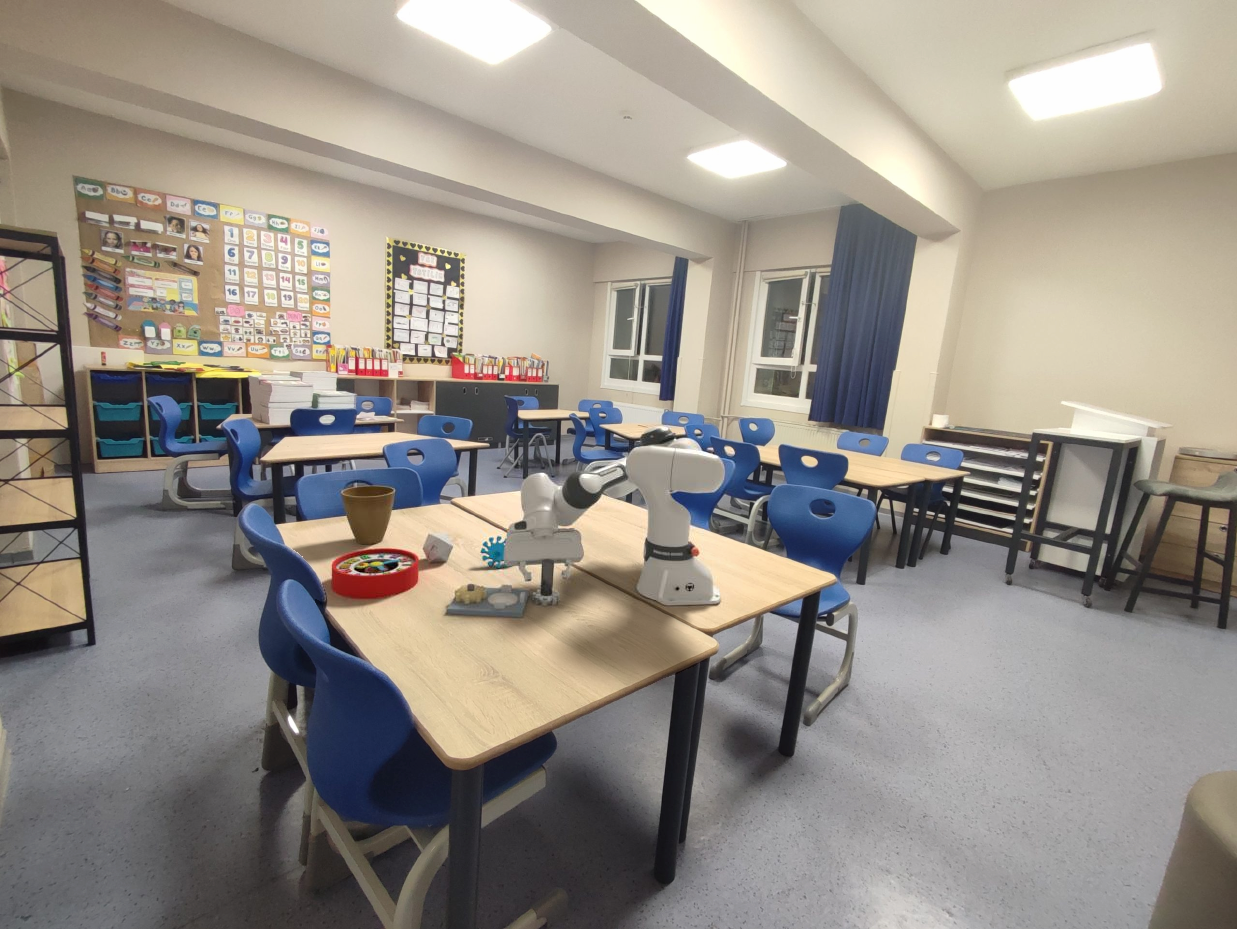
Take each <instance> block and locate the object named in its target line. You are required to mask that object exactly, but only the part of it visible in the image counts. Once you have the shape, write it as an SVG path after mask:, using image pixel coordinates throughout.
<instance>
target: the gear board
mask: <svg viewBox="0 0 1237 929" xmlns="http://www.w3.org/2000/svg"><path fill="white" fill-rule="evenodd" d="M530 592H531V591H530V589H523V588H513V585H512V584H501V587H487V586H486V587H485V586H484V585H478V584H475V583H468V584H466V585H465V584H463V585H460V586H459V588H455V590H454V597H453V599H452V600H451V603H449V604H448V607H447V610H446V613H447V614H450V615H464V616H465V615H466V616H483V617H502V618H504V617H505V618H519V619H521V618H523V616H524V611H525V608H526V605H527V603H528V600H529V596H530Z"/></svg>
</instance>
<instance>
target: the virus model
mask: <svg viewBox="0 0 1237 929" xmlns="http://www.w3.org/2000/svg"><path fill="white" fill-rule="evenodd" d="M506 539H507V537H505V538H504V540H503V541H502V542H501V540H502V536H501V535H497V537H496V542H495V543H494V540H495V539H494V537H493V536H492V537H489V538H488V541H489V543H490V545H488V541H484V542H483V543H482V546H483V547H482V548H481V549H480V553H481V554H485V555H482V557H481V558H482V561H483V562H485V561H487V560H490V561H488V562H487V566H488V567H492V565H493V564H494V563H496V562H497V563H496V564H495V566H494V568H495V569H497V570H499V569H500V568H501V563H502V562H504V558H503V557H504V546H505V542H506ZM484 547H485V548H484ZM486 549H487V550H486ZM491 560H492V561H491ZM502 567H503V568H507V567H509V566H506V565H505V564H504V563H503V565H502Z"/></svg>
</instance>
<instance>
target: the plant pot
mask: <svg viewBox="0 0 1237 929" xmlns="http://www.w3.org/2000/svg"><path fill="white" fill-rule="evenodd" d="M340 493H341V498H342V504H343V508H344V512H345V515H346V518H347V522H348V525H349V527H350V531H351V532H352V535H353V537H354V538H355V541H356V543H358V544H360V545H361V544H362V545H372V544H377V543H381V542H382V541H383V540H384V538H385V536H386V532H387V529H388V526H389V523H390V519H391V515H392V510H393V507H394V501H395V493H396V489H395V488H393V487H390V486H385V485H361V486H354V487H352V486H351V487H349V488H345V489H343V490H341V492H340Z"/></svg>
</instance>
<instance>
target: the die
mask: <svg viewBox="0 0 1237 929" xmlns="http://www.w3.org/2000/svg"><path fill="white" fill-rule="evenodd" d="M453 548H454V545H453V543H452V541H451V538H450V536H449V534H448V532H438V533H437V532H435V533H431V532H430V533H428V534H427V537H426V539H425V541H424V544H423V547H422V550H423V553H424V555H425V558H426V560H427V563H444V562H445V563H447V562H448V560H449V559H450V555H451V553H452V550H453Z"/></svg>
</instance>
